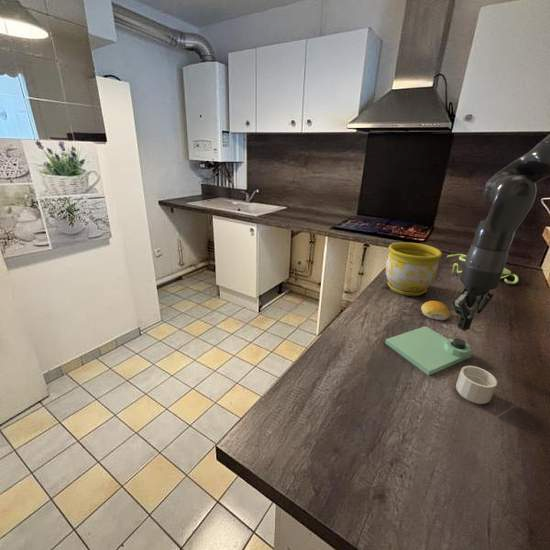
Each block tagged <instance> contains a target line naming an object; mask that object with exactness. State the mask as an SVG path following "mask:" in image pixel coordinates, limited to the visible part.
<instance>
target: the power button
mask: <svg viewBox="0 0 550 550" xmlns="http://www.w3.org/2000/svg"><path fill="white" fill-rule="evenodd" d="M452 339H453V342H452V346H454V347H455V348H458V349H464V347H465V344H466V343H467V341H465V340H463V339H461V338H457V337H456V338H452Z"/></svg>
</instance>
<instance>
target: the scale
mask: <svg viewBox="0 0 550 550" xmlns="http://www.w3.org/2000/svg"><path fill="white" fill-rule="evenodd" d="M453 339H454V338H447V337H446V336H444V335H442V334H440V333H439V332H437V331H436V330H433V329H432V328H431V327H429V326H426V325H425V326H422V327H419V328H416V329H412V330H409V331H407V332H403V333H401V334H397V335H395V336H392V337H388V338H385V342H384V344H386V345H387V346H388V347H390V348H391V349H392V350H393V351H395V352H396V353H397V354H399V355H400V356H402V357H403V358H404V359H406V360H407V361H408V362H409V363H411V364H413V365H414V366H415V367H417V368H418V369H419V370H421V371H422V372H423V373H424V374H426V375H427V376H431V375H433V374H436V373H439V372H440V371H442V370H445V369H447V368H450V367H451V366H454V365H456V364H458V363H461V362H463V361H466V360H468V359H470V358H471V357H472V354H473V353H472V352H471V351H472V346H470V345H469V343H467V342H466V344H465V347H464V349H458V348H455V347H454V346H452V342H453Z"/></svg>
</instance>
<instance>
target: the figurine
mask: <svg viewBox="0 0 550 550" xmlns="http://www.w3.org/2000/svg"><path fill="white" fill-rule="evenodd" d="M453 257H458V260H459V261H460V262H461V261H462V262H464V263H465V260H466V257H467V254H464V253H463V254H462V253H453V254H447V255H446V258H453ZM456 267H457V268H456ZM505 267H506V266H505ZM505 267H504V270H503V273H502V275H501V278H500V280H501V279H504V282H505V283H506V284H508V285H516V284H517V283H519V280H520V279H519V276H518V275H517V274H515V273H512V271H511V270H509V269H508V268H505ZM455 268H456V273H457V274H459V275H461V273H462V270H459V263H458V262H457V263H456V262H454V263H453V265H452V272H451V275H452V276H453V275H454V273H455ZM509 276H511V277H513V278H514V280H513V281H510V280H508V279H507V278H506V277H509Z"/></svg>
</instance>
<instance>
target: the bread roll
mask: <svg viewBox="0 0 550 550" xmlns="http://www.w3.org/2000/svg"><path fill="white" fill-rule="evenodd" d="M420 310H421V313H422V315H424V316H425V317H427V318H429V319H431V320H435V321H440V322H441V321H446V320H448V319H449V318H450V317H451V312H450V311H449V309H448V307H447V305H446V304H445V303H443V302H441V301H438V300H428V301H425V302H424V303H423V304H422V305H421V307H420Z"/></svg>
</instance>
